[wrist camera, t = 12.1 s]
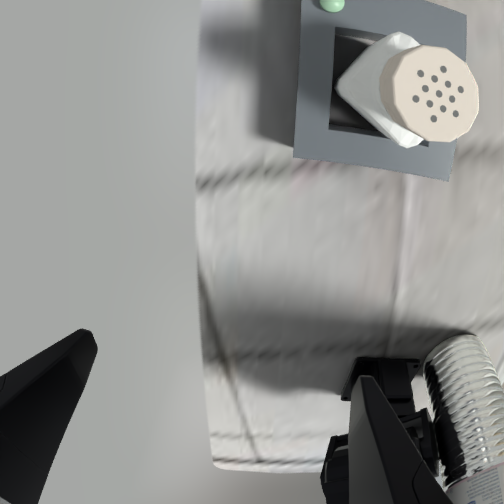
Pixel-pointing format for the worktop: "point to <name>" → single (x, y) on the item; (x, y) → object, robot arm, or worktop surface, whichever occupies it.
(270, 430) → the worktop surface
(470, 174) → the worktop surface
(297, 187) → the worktop surface
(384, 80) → the pepper shaker
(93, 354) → the robot arm
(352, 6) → the socket dock
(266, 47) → the worktop surface
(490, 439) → the water bottle
